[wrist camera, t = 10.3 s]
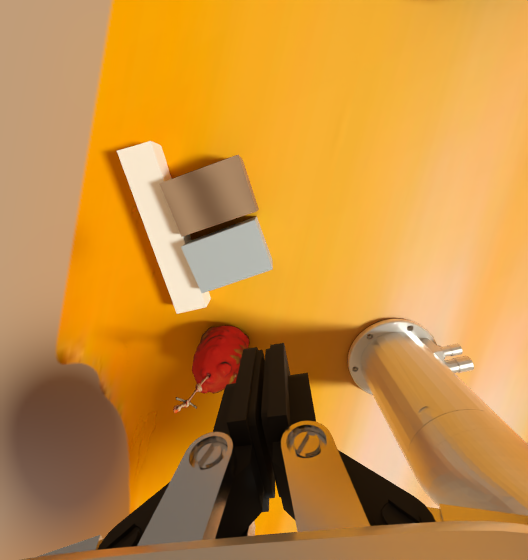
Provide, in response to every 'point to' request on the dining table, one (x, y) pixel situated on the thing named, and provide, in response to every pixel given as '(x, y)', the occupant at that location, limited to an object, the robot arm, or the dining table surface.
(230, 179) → the walnut block
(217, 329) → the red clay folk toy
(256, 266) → the slate block
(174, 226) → the stop rail
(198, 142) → the dining table surface
